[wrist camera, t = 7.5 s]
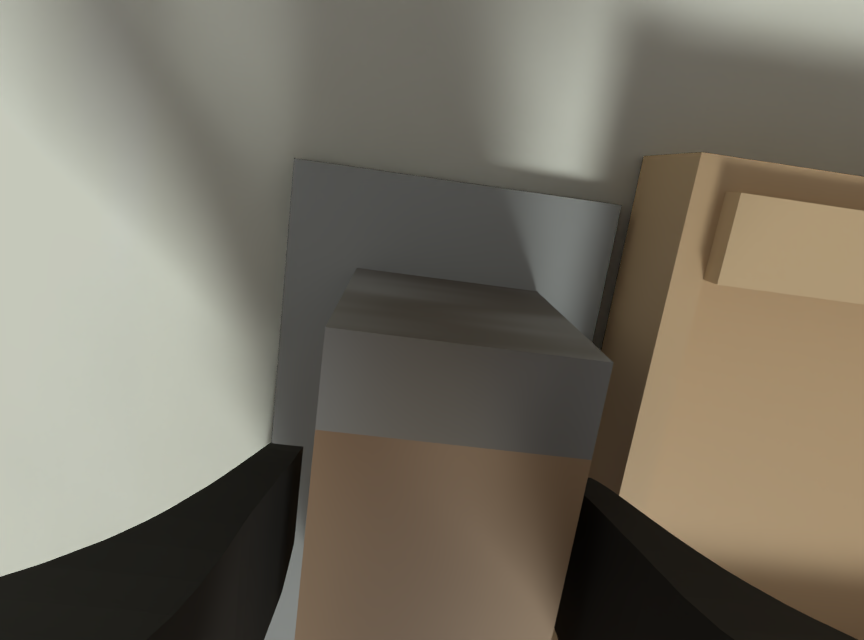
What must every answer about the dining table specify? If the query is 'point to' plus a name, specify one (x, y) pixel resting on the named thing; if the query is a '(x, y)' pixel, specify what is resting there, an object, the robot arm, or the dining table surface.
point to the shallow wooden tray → (744, 374)
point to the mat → (422, 256)
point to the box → (446, 462)
